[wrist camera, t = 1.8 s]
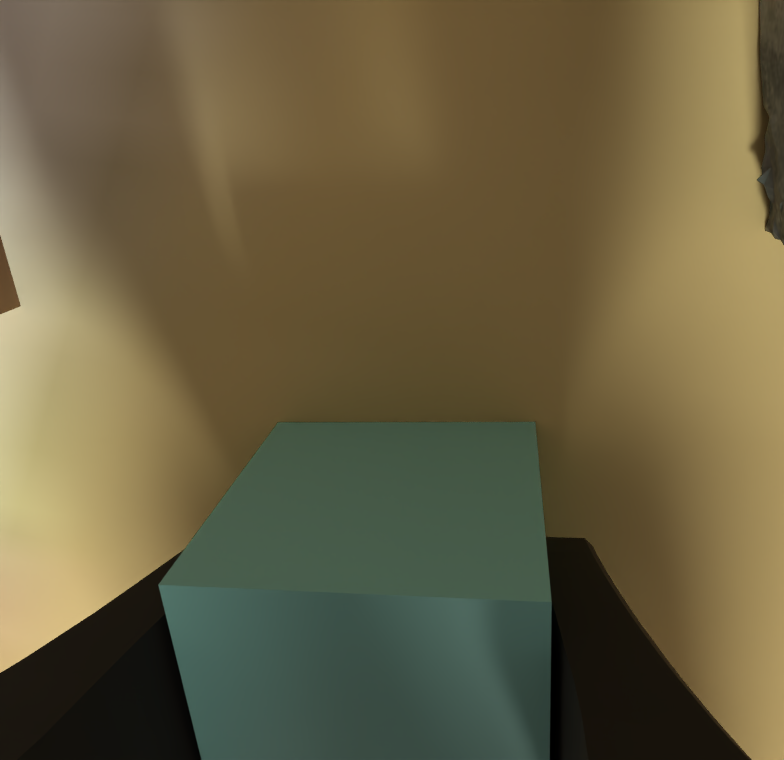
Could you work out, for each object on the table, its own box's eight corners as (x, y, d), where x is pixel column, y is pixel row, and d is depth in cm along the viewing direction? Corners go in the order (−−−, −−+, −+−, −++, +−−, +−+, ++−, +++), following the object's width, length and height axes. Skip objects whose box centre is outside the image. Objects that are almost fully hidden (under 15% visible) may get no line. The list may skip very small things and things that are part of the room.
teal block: (534, 634, 11) (547, 883, 8) (308, 622, 12) (222, 845, 8) (535, 421, 10) (551, 602, 6) (278, 421, 11) (158, 585, 7)
